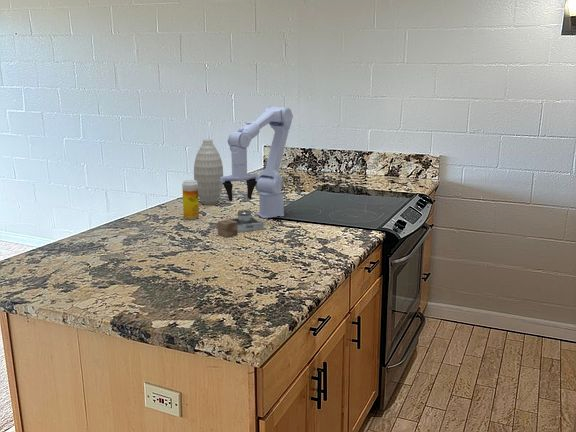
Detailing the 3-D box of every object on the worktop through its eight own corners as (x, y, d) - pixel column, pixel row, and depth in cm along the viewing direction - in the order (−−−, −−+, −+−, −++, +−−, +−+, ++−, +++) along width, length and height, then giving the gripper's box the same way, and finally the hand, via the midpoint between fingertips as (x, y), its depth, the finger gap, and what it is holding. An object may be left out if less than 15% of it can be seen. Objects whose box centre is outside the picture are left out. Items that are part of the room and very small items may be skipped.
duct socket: (253, 222, 225) (253, 216, 225) (264, 229, 215) (264, 223, 215) (226, 225, 221) (226, 218, 220) (236, 233, 211) (236, 226, 210)
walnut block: (228, 232, 212) (228, 219, 211) (237, 235, 209) (237, 221, 207) (218, 235, 209) (217, 221, 207) (226, 238, 205) (226, 224, 204)
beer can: (195, 220, 228) (194, 183, 224) (181, 219, 229) (179, 182, 225) (201, 216, 233) (200, 180, 229) (187, 215, 234) (185, 179, 231)
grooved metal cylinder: (253, 227, 218) (253, 212, 216) (241, 229, 215) (241, 214, 214) (247, 224, 222) (247, 209, 221) (235, 226, 219) (235, 211, 218)
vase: (189, 205, 253) (187, 140, 245) (204, 199, 264) (202, 137, 257) (215, 207, 248) (213, 142, 241) (228, 201, 259) (227, 138, 252)
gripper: (253, 161, 223) (253, 195, 226) (217, 163, 217) (218, 199, 220) (260, 164, 217) (260, 199, 220) (223, 166, 211) (224, 203, 214)
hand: (239, 199), depth 220 cm, fingers open, 7 cm apart
